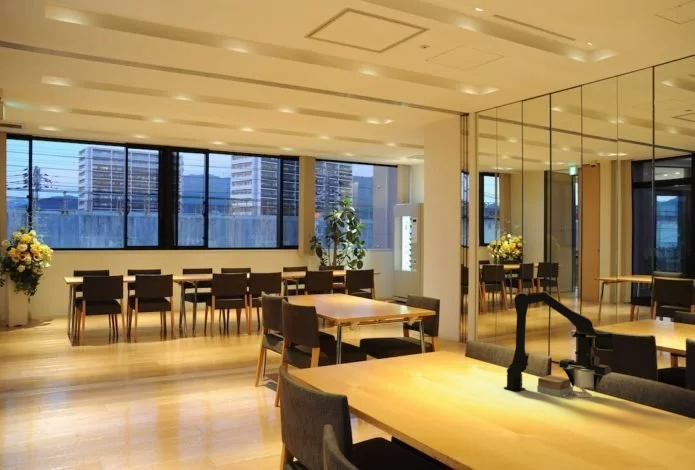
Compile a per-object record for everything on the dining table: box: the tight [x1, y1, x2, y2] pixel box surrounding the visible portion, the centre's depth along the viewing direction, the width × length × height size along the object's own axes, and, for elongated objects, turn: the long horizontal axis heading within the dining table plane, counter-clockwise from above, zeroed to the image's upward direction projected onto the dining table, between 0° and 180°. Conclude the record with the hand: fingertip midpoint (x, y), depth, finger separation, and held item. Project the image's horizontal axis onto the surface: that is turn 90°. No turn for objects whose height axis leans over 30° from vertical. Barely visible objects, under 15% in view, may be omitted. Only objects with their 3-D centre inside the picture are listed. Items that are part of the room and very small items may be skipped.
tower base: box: [536, 385, 574, 398], centre depth 230 cm, size 10×10×3 cm
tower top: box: [537, 374, 572, 390], centre depth 231 cm, size 9×9×3 cm
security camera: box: [572, 368, 596, 398], centre depth 226 cm, size 6×7×10 cm
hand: (584, 388), depth 225 cm, fingers closed on security camera, 9 cm apart
